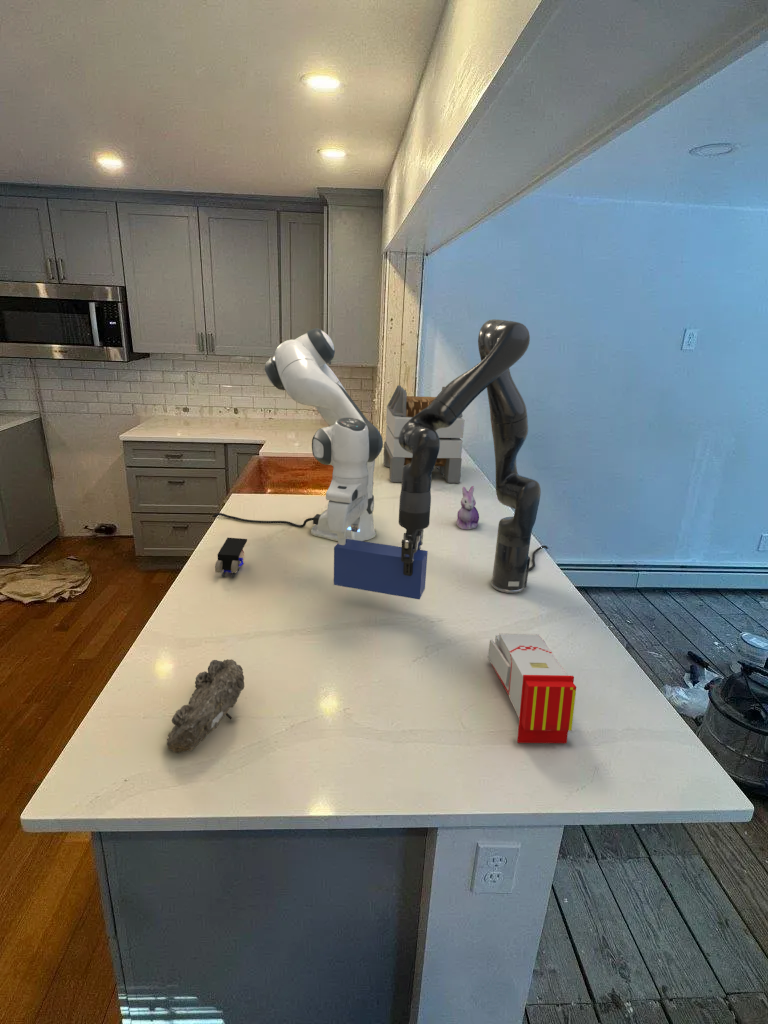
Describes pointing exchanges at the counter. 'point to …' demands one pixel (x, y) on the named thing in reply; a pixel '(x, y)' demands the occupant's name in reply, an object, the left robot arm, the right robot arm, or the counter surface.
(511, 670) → the toy
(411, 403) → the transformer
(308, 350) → the left robot arm
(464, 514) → the figurine
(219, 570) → the figurine character
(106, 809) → the counter surface
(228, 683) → the fossil
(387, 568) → the box
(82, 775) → the counter surface
